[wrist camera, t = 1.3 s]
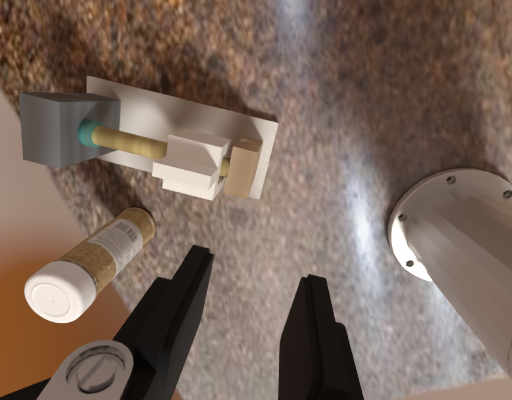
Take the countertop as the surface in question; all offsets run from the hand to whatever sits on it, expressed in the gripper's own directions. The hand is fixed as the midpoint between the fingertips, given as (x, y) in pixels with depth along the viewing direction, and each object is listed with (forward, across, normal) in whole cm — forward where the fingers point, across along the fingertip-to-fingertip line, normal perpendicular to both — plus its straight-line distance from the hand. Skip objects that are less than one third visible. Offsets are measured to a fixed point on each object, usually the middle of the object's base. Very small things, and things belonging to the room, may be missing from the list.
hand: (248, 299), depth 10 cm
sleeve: (+16, +6, 0) cm, 18 cm away
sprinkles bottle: (+21, +14, +11) cm, 28 cm away
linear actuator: (+21, +10, 0) cm, 23 cm away
